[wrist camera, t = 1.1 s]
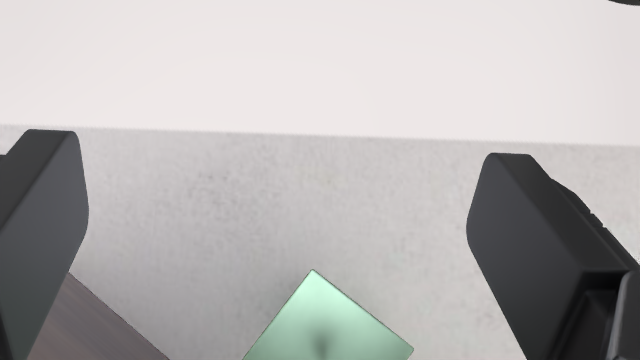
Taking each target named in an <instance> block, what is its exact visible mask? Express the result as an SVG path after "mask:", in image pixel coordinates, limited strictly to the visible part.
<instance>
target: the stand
mask: <svg viewBox="0 0 640 360" xmlns="http://www.w3.org/2000/svg"><path fill="white" fill-rule="evenodd" d="M27 360H169V359H168V358H167V357H166V356H165V355H163V354H162V353H161V352H160V351H159V350H158V349H156V348H155V347H154V346H153V345H152V344H151V343H149V342H148V341H147V340H146V339H145V338H144V337H143V336H141V335H140V334H139V333H138V332H137V331H136V330H134V329H133V328H132V327H131V326H130V325H129V324H127V323H126V322H125V321H124V320H123V319H122V318H120V317H119V316H118V315H117V314H116V313H115V312H114V311H112V310H111V309H110V308H109V307H108V306H107V305H105V304H104V303H103V302H102V301H101V300H100V299H98V298H97V297H96V296H95V295H94V294H93V293H91V292H90V291H89V290H88V289H87V288H86V287H85V286H83V285H82V284H81V283H80V282H79V281H78V280H76V279H75V278H74V277H73V276H72V275H71V274H69V273H67V275H66V277H65V279H64V281H63V283H62V285H61V287H60V290H59V292H58V294H57V296H56V298H55V300H54V302H53V305H52V307H51V309H50V311H49V313H48V315H47V317H46V319H45V322H44V324H43V326H42V328H41V330H40V332H39V334H38V337H37V339H36V341H35V343H34V345H33V347H32V349H31V351H30V354H29V356H28V358H27Z"/></svg>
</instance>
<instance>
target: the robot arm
mask: <svg viewBox="0 0 640 360" xmlns="http://www.w3.org/2000/svg"><path fill="white" fill-rule="evenodd" d="M590 211H591V210H590V209H589V208H588V207H587V206H586V205H585V204H584V203H583V201H582V200H581V199H580V198H579V197H578V196H577V195H576V194H575V193H574V192H572V191H570V190H569V189H567V188H566V187H564V186H563V185H561V184H560V183H558V182H557V181H555V180H553V179H551V178H550V177H549V176H548V174H547V173H546V172H545V171H544V170H543V169H542V167H541V166H540V165H539V164H538V163H537V162H536V161H535V159H534V158H533V157H532V156H531V155H528V154H511V153H490V154H489V155H488V156H487V157H486V159H485V161H484V163H483V166H482V170H481V173H480V176H479V180H478V183H477V187H476V190H475V194H474V197H473V200H472V204H471V207H470V211H469V214H468V218H467V225H466V233H467V241H468V244H469V247H470V249H471V251H472V253H473V255H474V257H475V259H476V261H477V263H478V265H479V267H480V269H481V271H482V273H483V275H484V277H485V279H486V281H487V283H488V285H489V287H490V288H491V290H492V292H493V294H494V296H495V298H496V300H497V302H498V304H499V306H500V308H501V310H502V312H503V314H504V316H505V318H506V320H507V322H508V324H509V326H510V328H511V330H512V332H513V334H514V335H515V337H516V339H517V341H518V343H519V345H520V347H521V349H522V351H523V353H524V355H525V357H526V359H527V360H640V265H639V264H638V263H637V262H636V260H635V259H634V258H633V257H632V256H631V255H630V254H629V253H628V252H627V250H626V249H625V248H624V247H623V246H622V245H621V244H620V243H619V242H618V240H617V239H616V238H615V237H614V236H613V235H612V234H611V233H610V232H609V230H608V229H607V228H604V227H603V226H602V225H603V224H602V223H601V221H600V220H599V219H598V218H597V217H596V216H595V215H594V214H590ZM88 216H89V206H88V198H87V191H86V184H85V177H84V170H83V164H82V157H81V150H80V144H79V140H78V137H77V135H76V133H75V132H73V131H58V130H38V129H29V130H27V131H26V132H25V133H24V134H23V135H22V136H21V138H20V139H19V140H18V141H17V142H16V143H15V145H14V146H13V147H12V148H11V149H10V150H9V152H8V153H7V154H6V155H0V360H27V358H28V356H29V354H30V351H31V349H32V347H33V345H34V343H35V341H36V339H37V337H38V334H39V332H40V330H41V328H42V326H43V324H44V322H45V319H46V317H47V315H48V313H49V311H50V309H51V307H52V305H53V302H54V300H55V298H56V296H57V294H58V292H59V290H60V287H61V285H62V283H63V281H64V279H65V277H66V275H67V273H68V270H69V268H70V266H71V264H72V262H73V260H74V258H75V255H76V253H77V251H78V249H79V247H80V245H81V243H82V241H83V238H84V236H85V233H86V230H87V225H88Z"/></svg>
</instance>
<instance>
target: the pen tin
mask: <svg viewBox="0 0 640 360" xmlns="http://www.w3.org/2000/svg"><path fill="white" fill-rule="evenodd" d="M413 351H414V348H413V347H412V346H411V345H409V344H408V343H407V342H406V341H404V340H403V339H402V338H400V337H399V336H398V335H397V334H395V333H394V332H393V331H392V330H390V329H389V328H388V327H386V326H385V325H384V324H383V323H381V322H380V321H379V320H377V319H376V318H375V317H374V316H372V315H371V314H370V313H369V312H367V311H366V310H365V309H363V308H362V307H361V306H360V305H358V304H357V303H356V302H355V301H353V300H352V299H351V298H349V297H348V296H347V295H346V294H344V293H343V292H342V291H340V290H339V289H338V288H337V287H335V286H334V285H333V284H332V283H330V282H329V281H328V280H326V279H325V278H324V277H323V276H321V275H320V274H319V273H318V272H316V271H315V270H314V269H311V270H310V272H309V273H308V274H307V276H306V277H305V278H304V279H303V281H302V282H301V283H300V285H299V286H298V287H297V289H296V290H295V291H294V293H293V294H292V295H291V296H290V298H289V299H288V300H287V302H286V303H285V304H284V306H283V307H282V308H281V309H280V311H279V312H278V313H277V315H276V316H275V317H274V319H273V320H272V321H271V323H270V324H269V325H268V326H267V328H266V329H265V330H264V332H263V333H262V334H261V336H260V337H259V338H258V339H257V341H256V342H255V343H254V345H253V346H252V347H251V349H250V350H249V351H248V353H247V354H246V355H245V356H244V358H243V359H242V360H407V359H408V358H409V356H410V355H411V353H412V352H413Z"/></svg>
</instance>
